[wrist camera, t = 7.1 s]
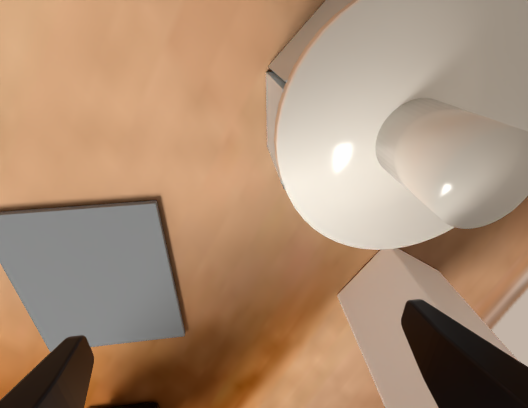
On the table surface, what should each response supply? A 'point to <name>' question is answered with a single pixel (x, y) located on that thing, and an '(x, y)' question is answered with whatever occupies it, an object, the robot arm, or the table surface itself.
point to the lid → (407, 120)
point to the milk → (389, 322)
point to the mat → (92, 272)
